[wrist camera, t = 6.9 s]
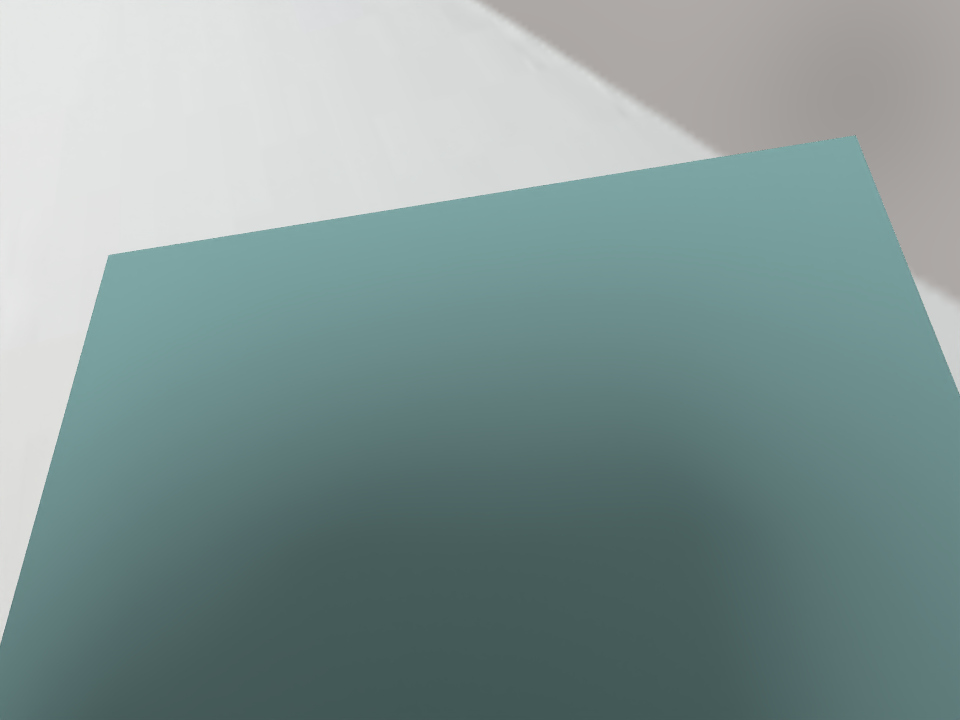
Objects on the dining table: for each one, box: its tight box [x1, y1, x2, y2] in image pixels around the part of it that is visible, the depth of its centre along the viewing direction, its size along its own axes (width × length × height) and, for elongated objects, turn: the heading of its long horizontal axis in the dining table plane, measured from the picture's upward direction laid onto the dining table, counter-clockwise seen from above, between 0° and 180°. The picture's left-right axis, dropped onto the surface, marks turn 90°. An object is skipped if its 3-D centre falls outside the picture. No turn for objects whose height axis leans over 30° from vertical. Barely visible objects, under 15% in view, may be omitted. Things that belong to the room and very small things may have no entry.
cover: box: [0, 136, 960, 720], centre depth 9 cm, size 7×7×12 cm
